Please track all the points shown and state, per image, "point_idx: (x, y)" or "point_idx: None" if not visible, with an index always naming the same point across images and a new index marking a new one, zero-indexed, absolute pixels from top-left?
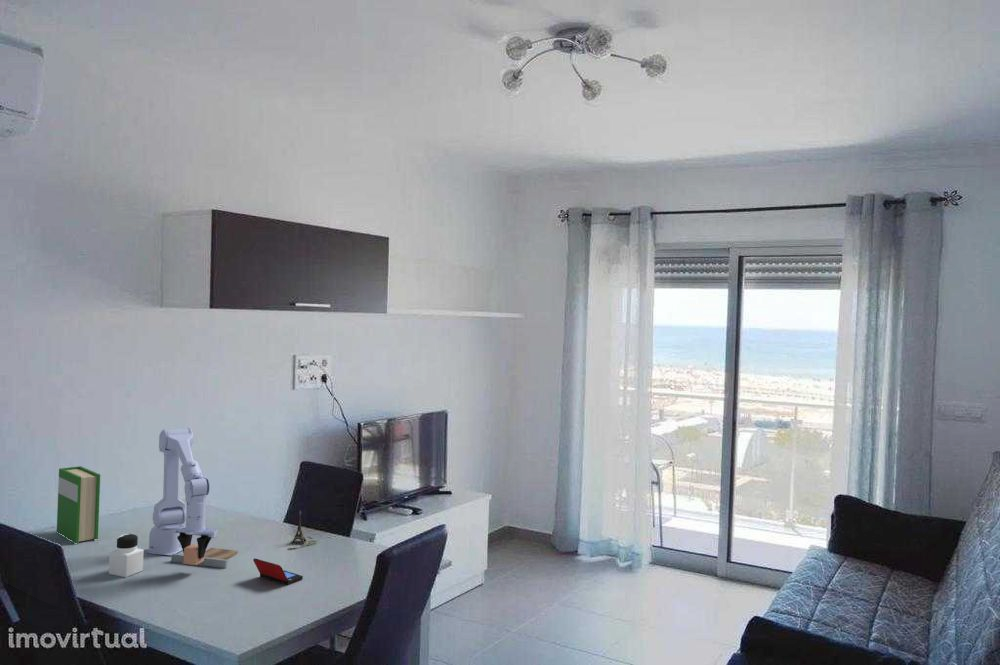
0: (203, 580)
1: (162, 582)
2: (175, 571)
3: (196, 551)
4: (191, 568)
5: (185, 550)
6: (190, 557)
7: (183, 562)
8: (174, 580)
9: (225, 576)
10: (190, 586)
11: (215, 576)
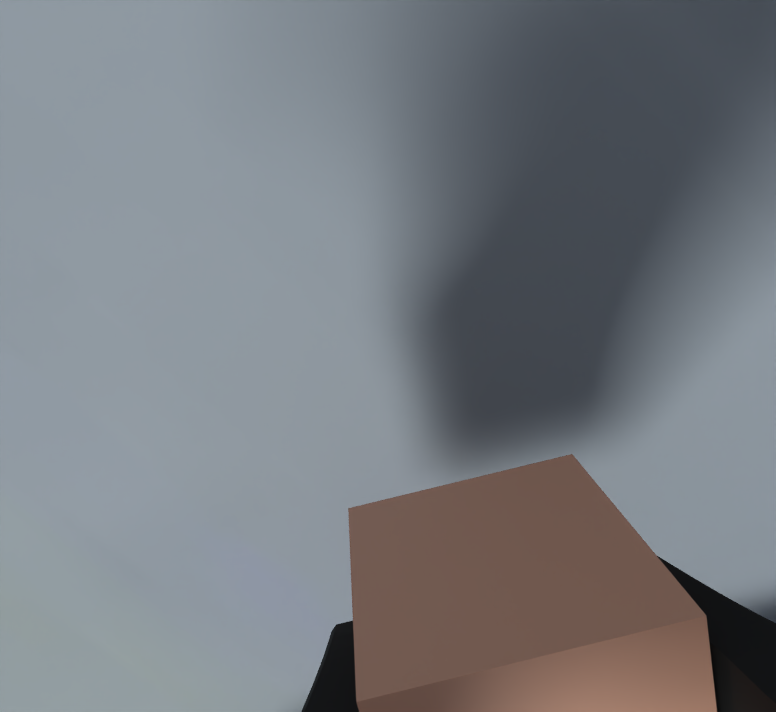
0: (147, 389)
1: (549, 44)
2: (685, 429)
3: (358, 667)
4: None
5: (639, 593)
6: (473, 543)
7: (576, 462)
8: (465, 191)
9: (42, 620)
10: (99, 133)
11: (141, 560)
